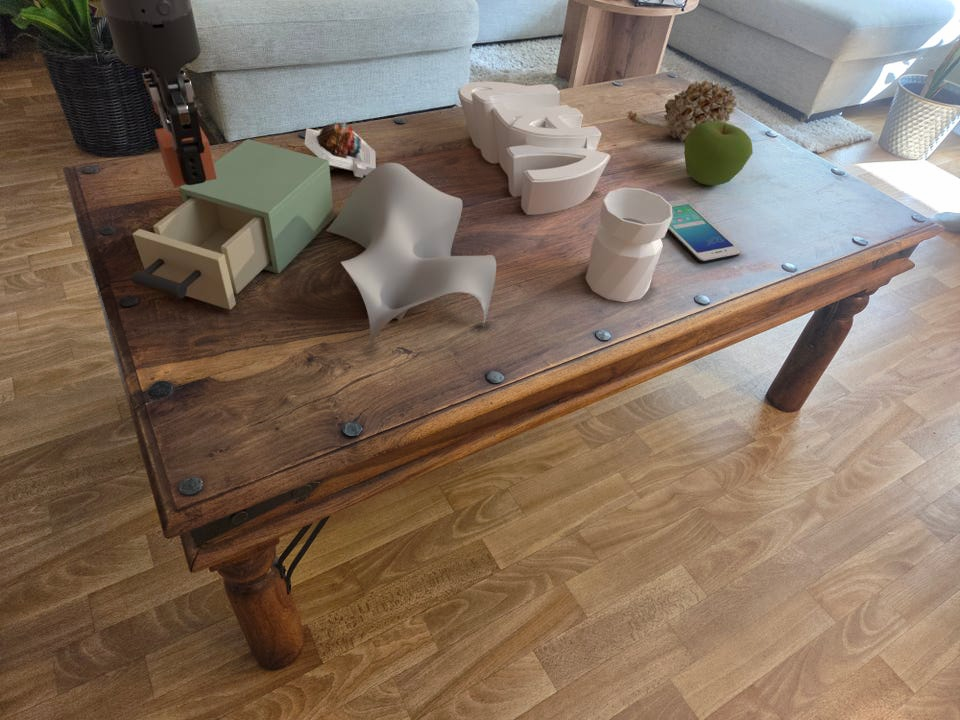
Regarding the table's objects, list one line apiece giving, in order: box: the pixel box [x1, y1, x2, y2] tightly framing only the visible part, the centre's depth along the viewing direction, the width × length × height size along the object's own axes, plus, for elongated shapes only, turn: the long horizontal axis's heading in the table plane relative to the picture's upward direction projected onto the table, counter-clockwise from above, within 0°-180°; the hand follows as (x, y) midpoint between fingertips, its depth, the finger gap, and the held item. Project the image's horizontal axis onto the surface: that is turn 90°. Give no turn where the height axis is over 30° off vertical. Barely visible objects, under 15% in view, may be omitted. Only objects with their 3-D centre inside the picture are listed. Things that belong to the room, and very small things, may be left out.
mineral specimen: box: [304, 121, 377, 179], centre depth 104 cm, size 12×12×7 cm
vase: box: [585, 187, 673, 303], centre depth 85 cm, size 9×9×12 cm
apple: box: [683, 121, 754, 187], centre depth 108 cm, size 11×10×10 cm
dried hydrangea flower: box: [625, 80, 737, 142], centre depth 119 cm, size 22×10×10 cm, turn 115°
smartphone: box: [666, 199, 741, 264], centre depth 100 cm, size 8×1×15 cm
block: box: [154, 126, 217, 188], centre depth 71 cm, size 4×4×4 cm
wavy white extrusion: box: [457, 81, 612, 216], centre depth 106 cm, size 35×16×11 cm, turn 18°
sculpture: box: [325, 162, 497, 350], centre depth 84 cm, size 25×19×10 cm
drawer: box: [131, 197, 271, 310], centre depth 80 cm, size 18×11×7 cm, turn 160°
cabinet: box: [179, 138, 335, 275], centre depth 88 cm, size 15×13×9 cm
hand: (189, 170), depth 73 cm, fingers closed on block, 4 cm apart
